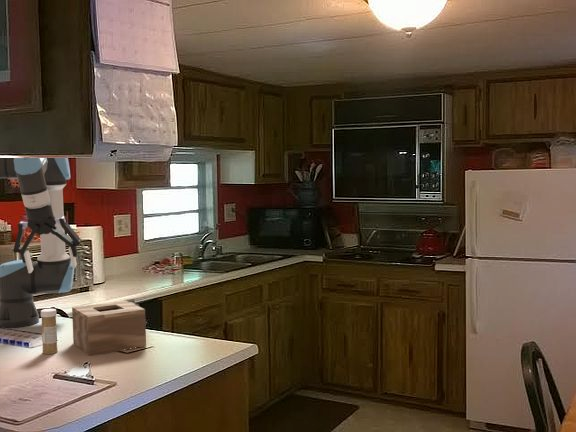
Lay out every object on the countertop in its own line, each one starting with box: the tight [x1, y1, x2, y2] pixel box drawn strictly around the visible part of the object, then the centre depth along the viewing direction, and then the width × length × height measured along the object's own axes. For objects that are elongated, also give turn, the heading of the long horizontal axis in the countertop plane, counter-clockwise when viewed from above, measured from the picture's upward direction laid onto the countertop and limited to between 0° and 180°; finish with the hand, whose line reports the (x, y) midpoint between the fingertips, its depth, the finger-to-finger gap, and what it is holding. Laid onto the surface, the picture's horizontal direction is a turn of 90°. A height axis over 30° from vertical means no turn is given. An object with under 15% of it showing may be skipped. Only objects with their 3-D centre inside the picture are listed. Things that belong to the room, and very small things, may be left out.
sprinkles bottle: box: [40, 308, 58, 355], centre depth 212 cm, size 5×5×14 cm
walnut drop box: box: [71, 300, 147, 357], centre depth 220 cm, size 18×18×12 cm
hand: (53, 268), depth 214 cm, fingers open, 13 cm apart
